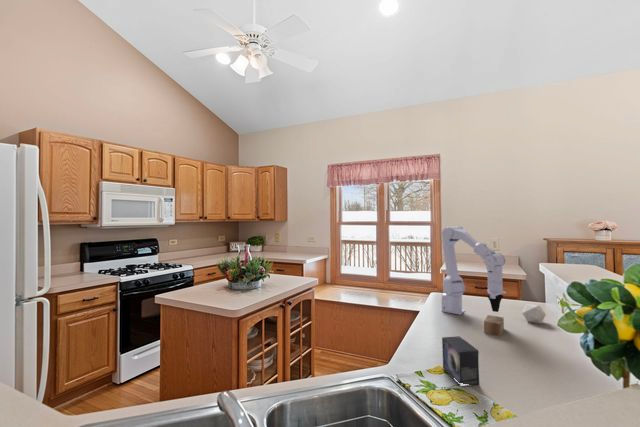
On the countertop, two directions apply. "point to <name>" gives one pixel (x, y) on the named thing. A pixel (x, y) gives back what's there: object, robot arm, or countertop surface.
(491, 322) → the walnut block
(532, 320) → the die
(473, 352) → the small box
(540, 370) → the countertop surface
